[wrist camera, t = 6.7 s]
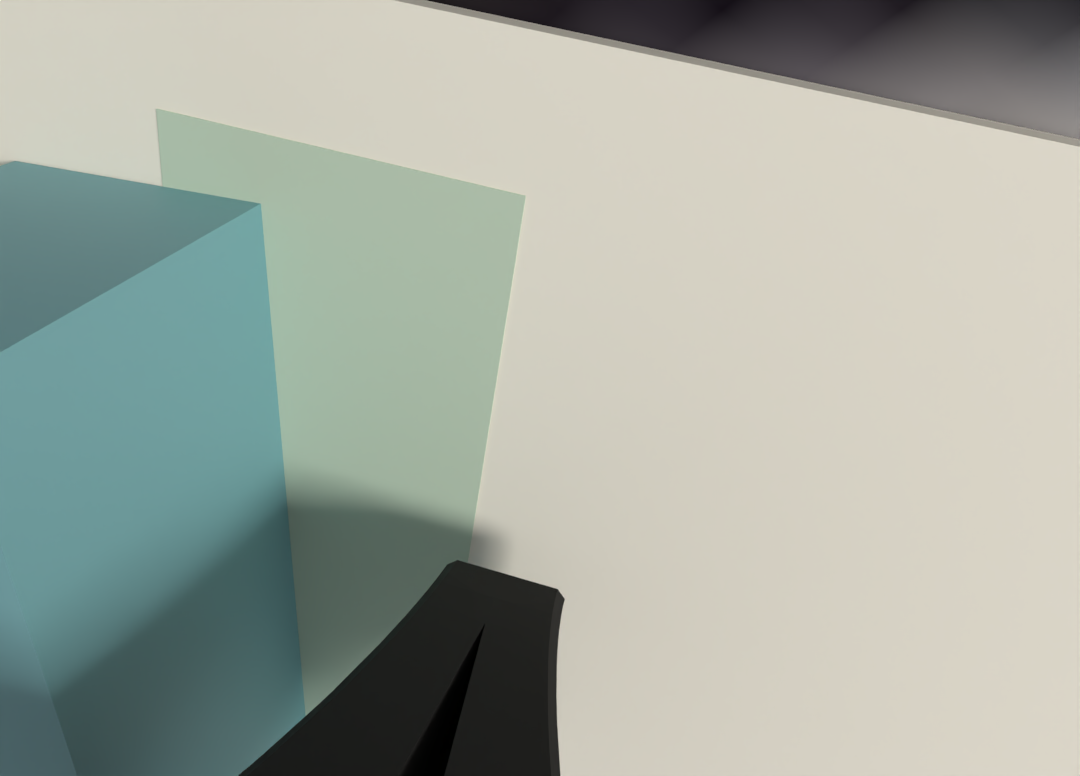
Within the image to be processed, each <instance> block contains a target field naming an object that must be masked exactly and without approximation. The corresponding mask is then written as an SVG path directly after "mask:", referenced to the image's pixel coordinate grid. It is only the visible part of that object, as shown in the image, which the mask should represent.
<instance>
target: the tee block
mask: <svg viewBox="0 0 1080 776" xmlns="http://www.w3.org/2000/svg"><path fill="white" fill-rule="evenodd" d="M305 716H306V714H305V703H304V691H303V680H302V669H301V657H300V646H299V634H298V623H297V611H296V600H295V588H294V577H293V566H292V554H291V543H290V531H289V520H288V508H287V497H286V485H285V474H284V463H283V451H282V440H281V428H280V417H279V405H278V394H277V382H276V371H275V360H274V348H273V337H272V325H271V314H270V302H269V291H268V279H267V268H266V257H265V245H264V234H263V222H262V211H261V204H260V203H255V202H249V201H243V200H237V199H232V198H226V197H220V196H214V195H209V194H203V193H197V192H191V191H186V190H180V189H174V188H168V187H163V186H157V185H151V184H145V183H139V182H134V181H128V180H122V179H116V178H111V177H105V176H99V175H93V174H88V173H82V172H76V171H70V170H65V169H59V168H53V167H47V166H42V165H36V164H30V163H24V162H19V161H14V162H11V163H8V164H5V165H1V166H0V776H238V775H239V774H240V773H242V772H243V771H244V770H245V769H246V768H248V767H249V766H250V765H251V764H252V763H254V762H255V761H256V760H257V759H258V758H259V757H260V756H262V755H263V754H264V753H265V752H266V751H267V750H268V749H269V748H271V747H272V746H273V745H274V744H275V743H276V742H277V741H278V740H279V739H281V738H282V737H283V736H284V735H285V734H286V733H287V732H288V731H289V730H291V729H292V728H293V727H294V726H295V725H296V724H297V723H298V722H299V721H301V720H302V719H303V718H304V717H305Z"/></svg>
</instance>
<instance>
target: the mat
mask: <svg viewBox="0 0 1080 776" xmlns="http://www.w3.org/2000/svg"><path fill="white" fill-rule="evenodd" d="M14 161H19V162H24V163H30V164H36V165H42V166H47V167H53V168H59V169H65V170H70V171H76V172H82V173H88V174H93V175H99V176H105V177H111V178H116V179H122V180H128V181H134V182H139V183H145V184H151V185H157V186H163V187H168V188H174V189H180V190H186V191H191V192H197V193H203V194H209V195H214V196H220V197H226V198H232V199H237V200H243V201H249V202H255V203H260V204H261V211H262V222H263V234H264V245H265V257H266V268H267V279H268V291H269V302H270V314H271V325H272V337H273V348H274V360H275V371H276V382H277V394H278V405H279V417H280V428H281V440H282V451H283V463H284V474H285V485H286V497H287V508H288V520H289V531H290V543H291V554H292V566H293V577H294V588H295V600H296V611H297V623H298V634H299V646H300V657H301V669H302V680H303V691H304V703H305V714H306V715H307V714H308V713H309V712H310V711H312V710H313V709H314V708H315V707H316V706H317V705H318V704H319V703H320V702H321V701H323V700H324V699H325V698H326V697H327V696H328V695H329V694H330V693H331V692H332V691H333V690H334V689H335V688H336V687H337V686H338V685H339V684H340V683H341V682H342V681H343V680H344V679H345V678H346V677H347V676H348V675H349V674H350V673H351V672H352V671H353V670H354V669H355V668H356V667H357V666H358V665H359V664H360V663H361V662H362V661H363V660H364V659H365V658H366V657H367V656H368V655H369V654H370V653H371V652H372V651H373V650H374V649H375V648H376V647H377V646H378V645H379V644H380V643H381V642H382V641H383V640H384V638H385V637H386V636H387V635H388V634H389V633H390V632H391V631H392V630H393V629H394V628H395V627H396V625H397V624H398V623H399V622H400V621H401V620H402V619H403V618H404V617H405V616H406V614H407V613H408V612H409V611H410V610H411V609H412V608H413V606H414V605H415V604H416V603H417V602H418V601H419V599H420V598H421V597H422V596H423V595H424V593H425V592H426V591H427V590H428V589H429V587H430V586H431V585H432V584H433V582H434V581H435V580H436V579H437V577H438V576H439V575H440V573H441V572H442V571H443V569H444V568H445V567H446V565H447V564H449V563H452V562H454V561H456V560H459V561H463V562H466V563H470V564H473V565H477V566H480V567H484V568H487V569H490V570H494V571H497V572H501V573H504V574H508V575H511V576H515V577H518V578H521V579H525V580H528V581H532V582H535V583H539V584H542V585H546V586H549V587H552V588H556V589H558V590H559V592H560V593H561V594H562V596H563V597H564V599H565V601H564V604H563V609H562V614H561V621H560V628H559V637H558V651H557V693H556V697H557V728H558V744H559V761H560V776H1080V139H1075V138H1071V137H1066V136H1061V135H1057V134H1052V133H1047V132H1042V131H1038V130H1033V129H1028V128H1024V127H1019V126H1014V125H1010V124H1005V123H1000V122H995V121H991V120H986V119H981V118H977V117H972V116H967V115H963V114H958V113H953V112H948V111H944V110H939V109H934V108H930V107H925V106H920V105H916V104H911V103H906V102H901V101H897V100H892V99H887V98H883V97H878V96H873V95H869V94H864V93H859V92H854V91H850V90H845V89H840V88H836V87H831V86H826V85H822V84H817V83H812V82H807V81H803V80H798V79H793V78H789V77H784V76H779V75H774V74H770V73H765V72H760V71H756V70H751V69H746V68H742V67H737V66H732V65H727V64H723V63H718V62H713V61H709V60H704V59H699V58H695V57H690V56H685V55H680V54H676V53H671V52H666V51H662V50H657V49H652V48H648V47H643V46H638V45H633V44H629V43H624V42H619V41H615V40H610V39H605V38H601V37H596V36H591V35H586V34H582V33H577V32H572V31H568V30H563V29H558V28H554V27H549V26H544V25H539V24H535V23H530V22H525V21H521V20H516V19H511V18H507V17H502V16H497V15H492V14H488V13H483V12H478V11H474V10H469V9H464V8H460V7H455V6H450V5H445V4H441V3H436V2H431V1H427V0H0V166H1V165H5V164H8V163H11V162H14Z"/></svg>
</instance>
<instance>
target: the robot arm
mask: <svg viewBox="0 0 1080 776" xmlns="http://www.w3.org/2000/svg"><path fill="white" fill-rule="evenodd" d="M564 601H565V599H564V597H563V596H562V594H561V593H560V592H559V590H558V589H556V588H552V587H549V586H546V585H542V584H539V583H535V582H532V581H528V580H525V579H521V578H518V577H515V576H511V575H508V574H504V573H501V572H497V571H494V570H490V569H487V568H484V567H480V566H477V565H473V564H470V563H466V562H463V561H459V560H456V561H454V562H452V563H449V564H447V565H446V567H445V568H444V569H443V571H442V572H441V573H440V575H439V576H438V577H437V579H436V580H435V581H434V582H433V584H432V585H431V586H430V587H429V589H428V590H427V591H426V592H425V593H424V595H423V596H422V597H421V598H420V599H419V601H418V602H417V603H416V604H415V605H414V606H413V608H412V609H411V610H410V611H409V612H408V613H407V614H406V616H405V617H404V618H403V619H402V620H401V621H400V622H399V623H398V624H397V625H396V627H395V628H394V629H393V630H392V631H391V632H390V633H389V634H388V635H387V636H386V637H385V638H384V640H383V641H382V642H381V643H380V644H379V645H378V646H377V647H376V648H375V649H374V650H373V651H372V652H371V653H370V654H369V655H368V656H367V657H366V658H365V659H364V660H363V661H362V662H361V663H360V664H359V665H358V666H357V667H356V668H355V669H354V670H353V671H352V672H351V673H350V674H349V675H348V676H347V677H346V678H345V679H344V680H343V681H342V682H341V683H340V684H339V685H338V686H337V687H336V688H335V689H334V690H333V691H332V692H331V693H330V694H329V695H328V696H327V697H326V698H325V699H324V700H323V701H321V702H320V703H319V704H318V705H317V706H316V707H315V708H314V709H313V710H312V711H310V712H309V713H308V714H307V715H306V716H305V717H304V718H303V719H302V720H301V721H299V722H298V723H297V724H296V725H295V726H294V727H293V728H292V729H291V730H289V731H288V732H287V733H286V734H285V735H284V736H283V737H282V738H281V739H279V740H278V741H277V742H276V743H275V744H274V745H273V746H272V747H271V748H269V749H268V750H267V751H266V752H265V753H264V754H263V755H262V756H260V757H259V758H258V759H257V760H256V761H255V762H254V763H252V764H251V765H250V766H249V767H248V768H246V769H245V770H244V771H243V772H242V773H240V774H239V775H238V776H560V761H559V744H558V728H557V697H556V693H557V651H558V637H559V628H560V621H561V614H562V609H563V604H564Z"/></svg>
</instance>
